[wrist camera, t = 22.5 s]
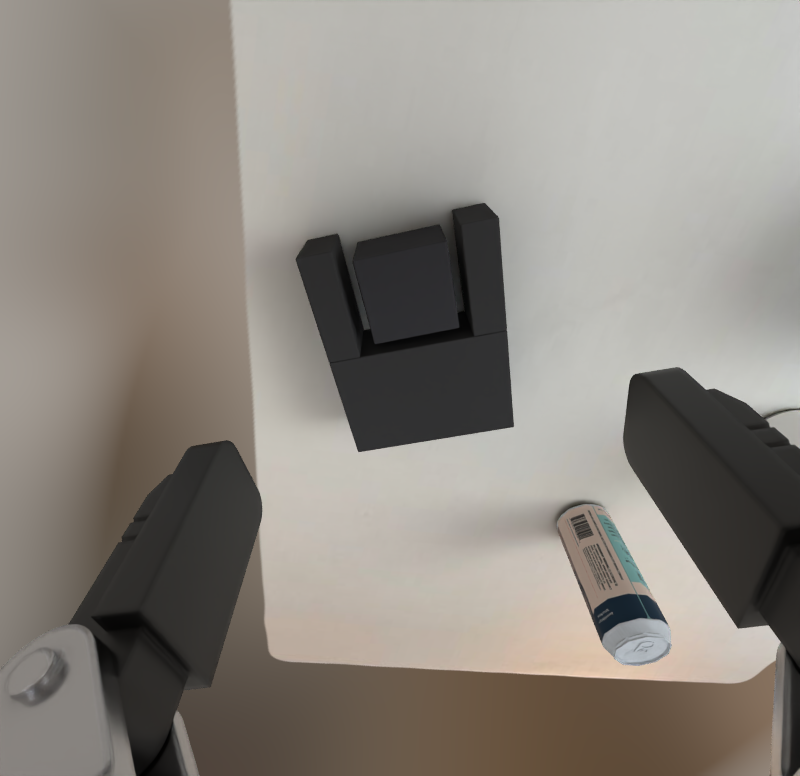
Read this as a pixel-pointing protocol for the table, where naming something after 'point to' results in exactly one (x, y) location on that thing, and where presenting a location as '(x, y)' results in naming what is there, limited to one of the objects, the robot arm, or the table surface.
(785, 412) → the can
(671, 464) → the robot arm
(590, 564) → the beer can
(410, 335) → the black block
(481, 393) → the black flat forked piece
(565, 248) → the table surface
